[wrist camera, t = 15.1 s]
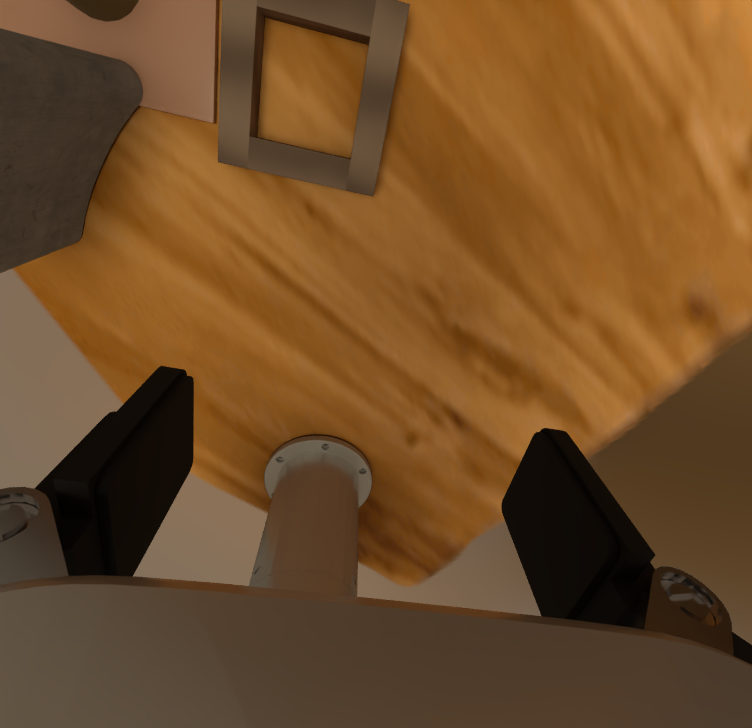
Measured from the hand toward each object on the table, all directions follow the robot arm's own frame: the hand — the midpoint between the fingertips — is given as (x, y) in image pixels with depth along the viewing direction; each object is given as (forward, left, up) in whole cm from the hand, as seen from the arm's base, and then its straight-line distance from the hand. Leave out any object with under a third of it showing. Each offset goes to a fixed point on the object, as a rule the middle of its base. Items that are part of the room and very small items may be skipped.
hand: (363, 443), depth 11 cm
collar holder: (+10, +6, -28) cm, 31 cm away
